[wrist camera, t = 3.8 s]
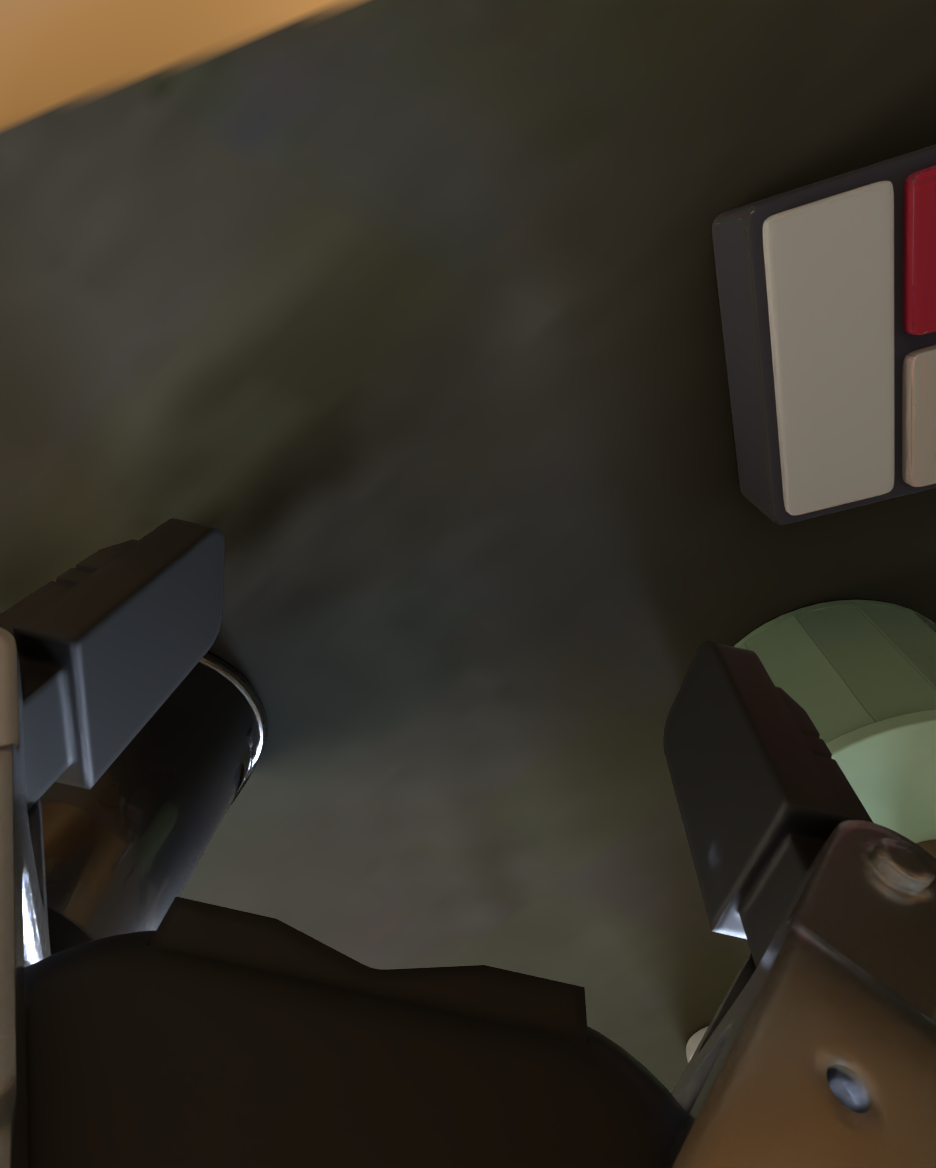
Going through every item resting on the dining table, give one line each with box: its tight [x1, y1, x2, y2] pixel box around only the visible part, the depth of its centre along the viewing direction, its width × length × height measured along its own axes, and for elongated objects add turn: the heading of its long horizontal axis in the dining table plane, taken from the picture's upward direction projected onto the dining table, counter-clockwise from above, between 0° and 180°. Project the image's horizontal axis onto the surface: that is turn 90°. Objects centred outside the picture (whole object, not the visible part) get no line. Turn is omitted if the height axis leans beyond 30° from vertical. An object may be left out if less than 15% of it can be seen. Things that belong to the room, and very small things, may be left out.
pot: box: [734, 600, 936, 743], centre depth 28 cm, size 13×18×8 cm
